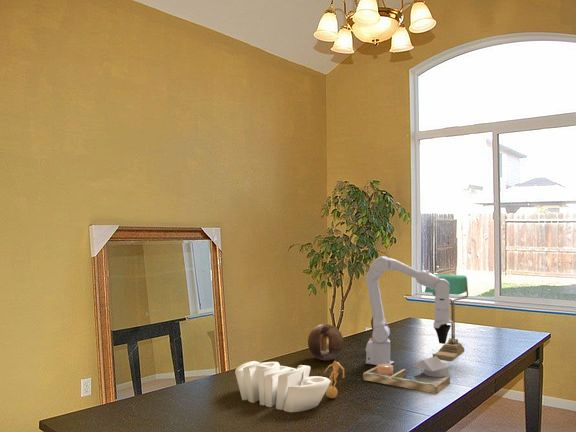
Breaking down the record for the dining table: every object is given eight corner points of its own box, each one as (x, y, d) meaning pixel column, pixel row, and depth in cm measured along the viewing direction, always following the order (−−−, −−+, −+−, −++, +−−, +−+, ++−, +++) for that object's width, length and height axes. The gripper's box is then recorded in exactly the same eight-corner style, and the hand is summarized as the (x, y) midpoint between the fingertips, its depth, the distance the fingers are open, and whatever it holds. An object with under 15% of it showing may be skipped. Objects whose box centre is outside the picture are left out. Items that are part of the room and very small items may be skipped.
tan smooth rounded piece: (374, 378, 199) (374, 366, 199) (381, 374, 204) (381, 362, 204) (389, 381, 196) (389, 368, 196) (395, 377, 200) (395, 365, 201)
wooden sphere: (317, 353, 236) (316, 320, 236) (348, 358, 229) (348, 323, 229) (301, 361, 223) (301, 325, 223) (335, 366, 215) (334, 329, 216)
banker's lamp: (472, 352, 238) (472, 274, 239) (460, 362, 221) (460, 278, 221) (437, 347, 247) (437, 272, 247) (423, 357, 229) (422, 276, 230)
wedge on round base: (432, 380, 196) (453, 374, 205) (432, 362, 196) (453, 356, 205) (413, 374, 203) (433, 369, 212) (413, 357, 203) (433, 352, 212)
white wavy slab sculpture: (223, 395, 180) (223, 363, 181) (256, 383, 193) (256, 354, 193) (305, 418, 158) (305, 383, 158) (336, 404, 171) (336, 371, 171)
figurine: (318, 396, 178) (318, 360, 178) (329, 392, 182) (329, 357, 183) (337, 402, 172) (337, 365, 172) (348, 397, 177) (348, 361, 177)
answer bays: (363, 379, 197) (363, 372, 197) (379, 370, 209) (379, 364, 209) (436, 393, 181) (436, 385, 181) (450, 383, 193) (450, 375, 193)
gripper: (446, 312, 205) (446, 348, 204) (457, 307, 216) (458, 341, 216) (428, 311, 209) (428, 345, 208) (440, 306, 220) (441, 339, 220)
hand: (442, 343), depth 213 cm, fingers closed
